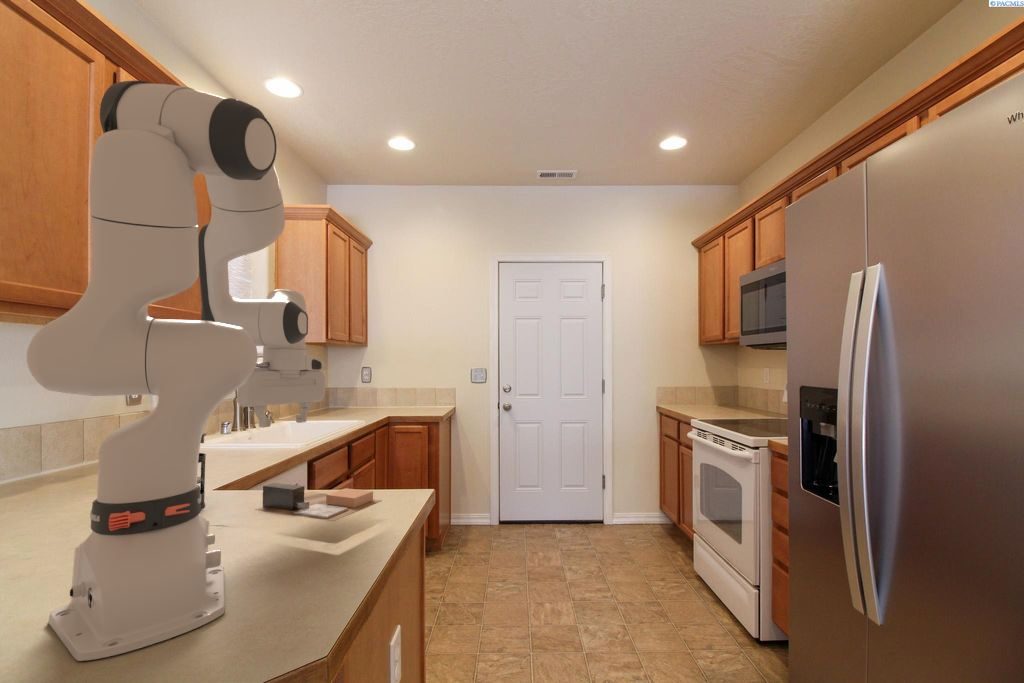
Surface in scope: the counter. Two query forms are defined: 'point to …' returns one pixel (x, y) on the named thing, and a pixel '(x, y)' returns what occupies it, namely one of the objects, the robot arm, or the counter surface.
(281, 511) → the board
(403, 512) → the counter surface
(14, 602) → the counter surface
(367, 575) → the counter surface
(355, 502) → the tile
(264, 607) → the counter surface
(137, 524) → the robot arm
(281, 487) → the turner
